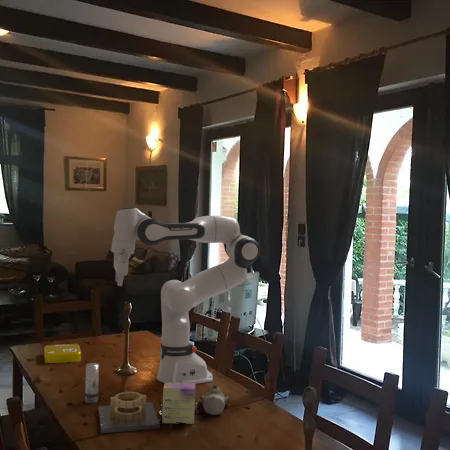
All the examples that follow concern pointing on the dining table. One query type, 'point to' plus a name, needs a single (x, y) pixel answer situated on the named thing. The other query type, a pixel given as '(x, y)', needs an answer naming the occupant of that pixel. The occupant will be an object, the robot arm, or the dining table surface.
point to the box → (178, 403)
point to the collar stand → (128, 414)
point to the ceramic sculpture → (214, 400)
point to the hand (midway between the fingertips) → (118, 283)
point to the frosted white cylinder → (92, 383)
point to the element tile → (62, 353)
